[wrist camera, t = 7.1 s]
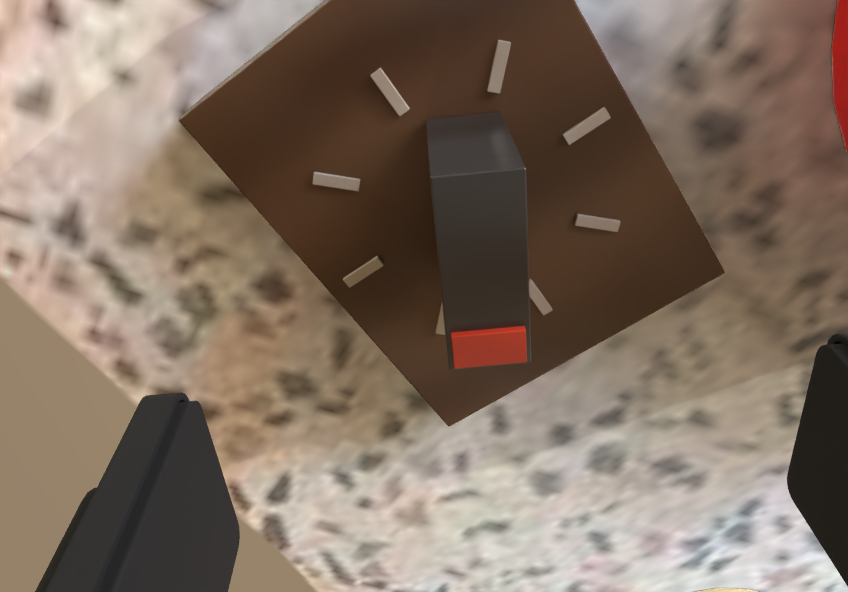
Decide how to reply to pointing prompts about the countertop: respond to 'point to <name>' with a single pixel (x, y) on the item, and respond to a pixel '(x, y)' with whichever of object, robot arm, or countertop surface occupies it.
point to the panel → (410, 176)
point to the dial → (480, 239)
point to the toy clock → (841, 67)
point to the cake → (727, 590)
